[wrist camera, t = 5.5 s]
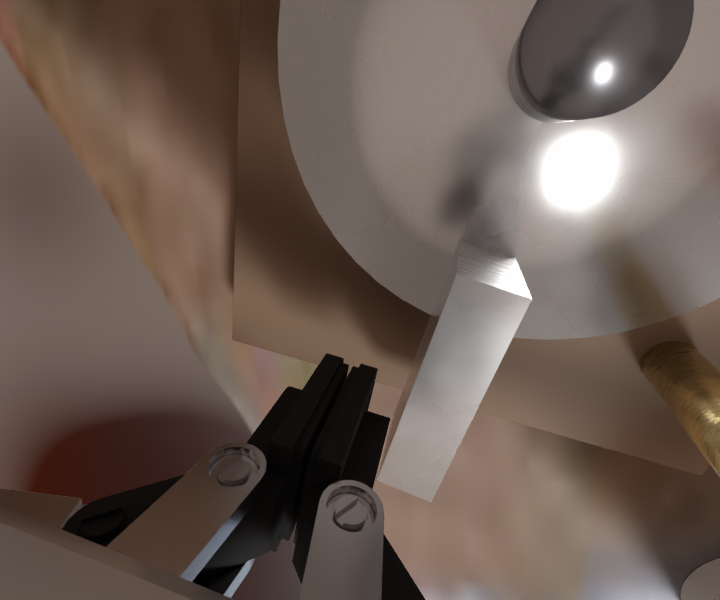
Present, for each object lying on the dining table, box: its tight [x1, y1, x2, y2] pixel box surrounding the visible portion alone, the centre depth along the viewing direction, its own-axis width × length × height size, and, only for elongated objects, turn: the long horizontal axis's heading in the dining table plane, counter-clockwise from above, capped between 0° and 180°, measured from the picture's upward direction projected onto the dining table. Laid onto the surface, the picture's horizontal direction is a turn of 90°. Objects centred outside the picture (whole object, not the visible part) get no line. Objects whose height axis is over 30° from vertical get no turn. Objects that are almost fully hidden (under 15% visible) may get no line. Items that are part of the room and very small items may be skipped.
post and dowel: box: [508, 0, 720, 477], centre depth 9 cm, size 12×2×6 cm, turn 34°
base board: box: [232, 0, 720, 476], centre depth 11 cm, size 22×18×2 cm
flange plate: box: [278, 0, 720, 502], centre depth 9 cm, size 18×14×4 cm
